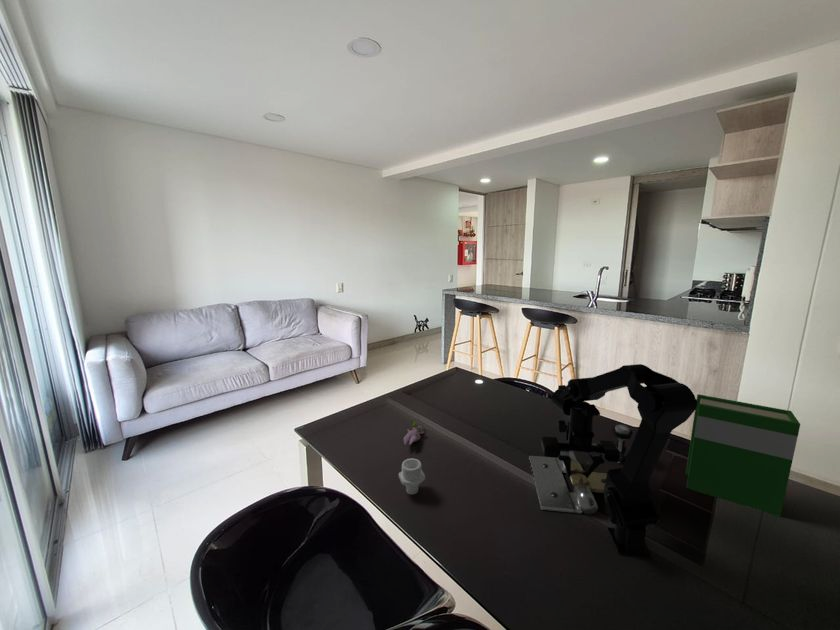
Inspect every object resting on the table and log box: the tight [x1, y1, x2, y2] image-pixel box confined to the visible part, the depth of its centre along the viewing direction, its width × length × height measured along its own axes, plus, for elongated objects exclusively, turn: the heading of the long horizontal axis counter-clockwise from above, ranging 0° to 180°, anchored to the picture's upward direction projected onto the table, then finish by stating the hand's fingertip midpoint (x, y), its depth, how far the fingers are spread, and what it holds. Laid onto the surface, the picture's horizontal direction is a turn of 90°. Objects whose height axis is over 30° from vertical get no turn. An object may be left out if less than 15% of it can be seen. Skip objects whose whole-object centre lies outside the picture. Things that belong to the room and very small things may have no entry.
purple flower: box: [403, 421, 426, 446], centre depth 117 cm, size 6×6×15 cm
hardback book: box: [685, 393, 801, 517], centre depth 87 cm, size 18×7×24 cm, turn 55°
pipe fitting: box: [398, 457, 426, 495], centre depth 92 cm, size 6×7×8 cm
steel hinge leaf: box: [528, 452, 599, 515], centre depth 94 cm, size 21×13×4 cm, turn 171°
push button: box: [611, 424, 634, 464], centre depth 104 cm, size 7×5×10 cm
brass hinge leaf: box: [569, 460, 607, 494], centre depth 92 cm, size 7×13×4 cm, turn 81°
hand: (577, 476), depth 93 cm, fingers closed on brass hinge leaf, 4 cm apart
